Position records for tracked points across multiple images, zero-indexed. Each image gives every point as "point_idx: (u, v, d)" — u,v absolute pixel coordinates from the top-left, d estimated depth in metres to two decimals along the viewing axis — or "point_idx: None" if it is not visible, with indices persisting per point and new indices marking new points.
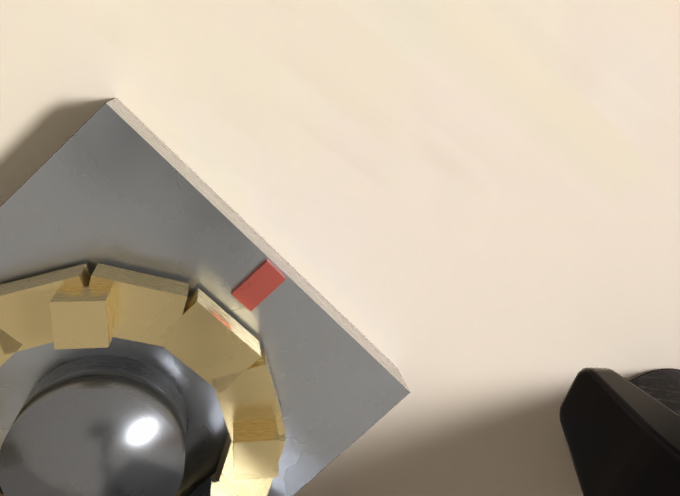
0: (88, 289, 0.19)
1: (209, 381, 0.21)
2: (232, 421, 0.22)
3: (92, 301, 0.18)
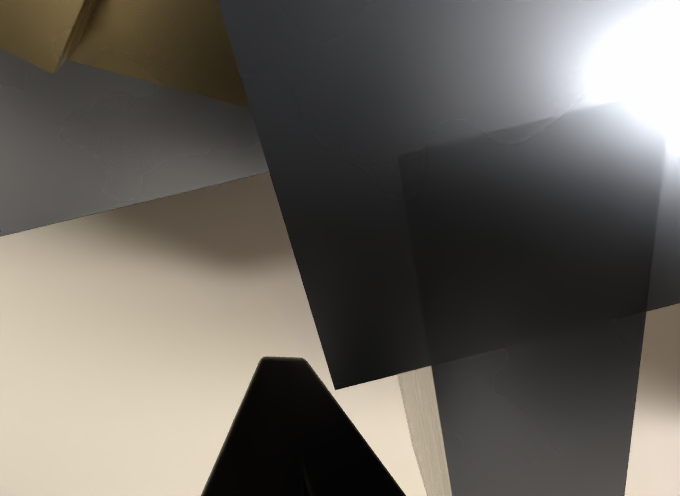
0: None
1: None
2: None
3: None
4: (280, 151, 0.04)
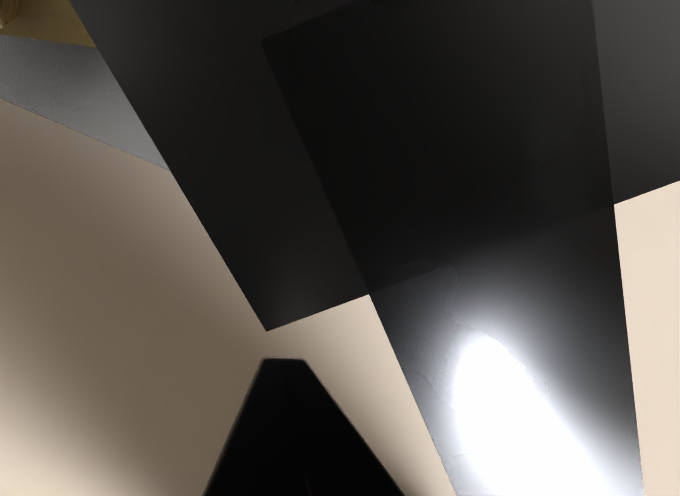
0: None
1: None
2: None
3: None
4: (121, 52, 0.03)
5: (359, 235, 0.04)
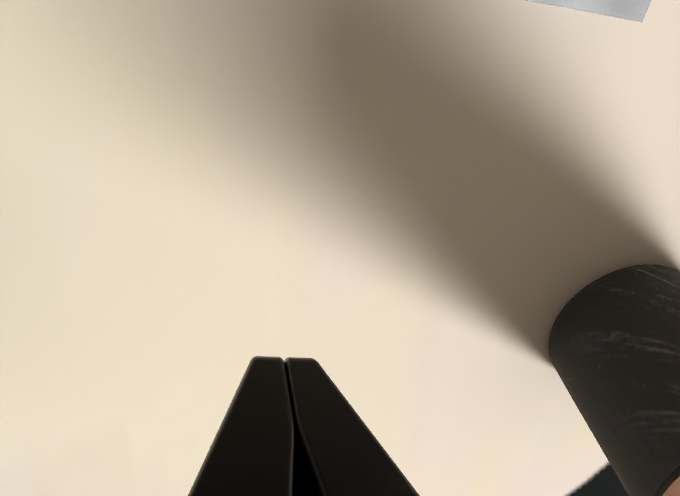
0: None
1: None
2: None
3: None
4: None
5: None
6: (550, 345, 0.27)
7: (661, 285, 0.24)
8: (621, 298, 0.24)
